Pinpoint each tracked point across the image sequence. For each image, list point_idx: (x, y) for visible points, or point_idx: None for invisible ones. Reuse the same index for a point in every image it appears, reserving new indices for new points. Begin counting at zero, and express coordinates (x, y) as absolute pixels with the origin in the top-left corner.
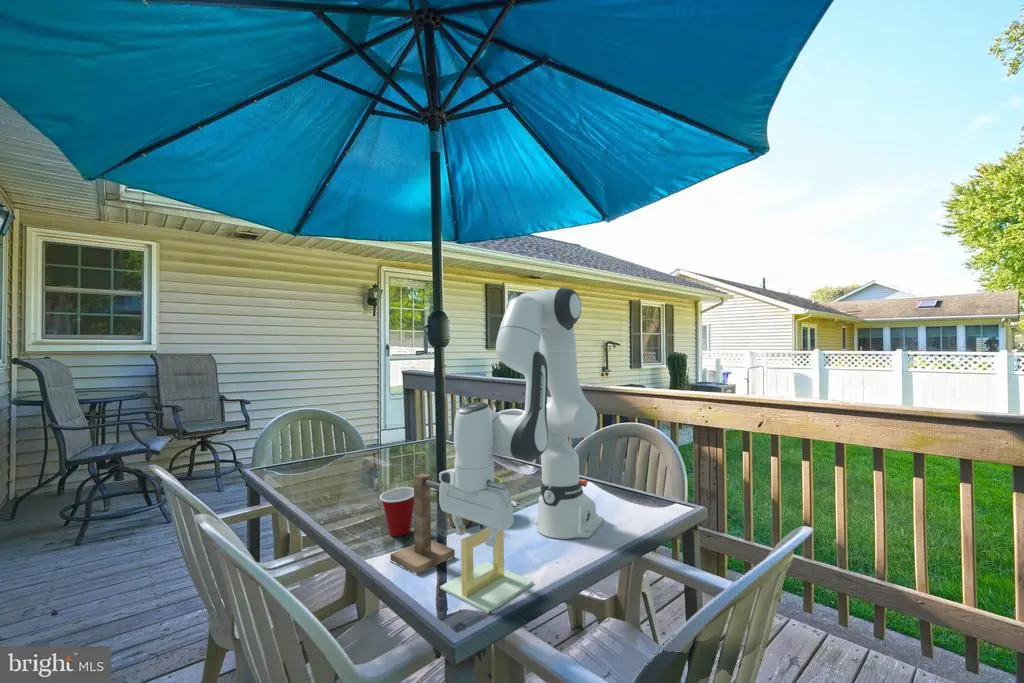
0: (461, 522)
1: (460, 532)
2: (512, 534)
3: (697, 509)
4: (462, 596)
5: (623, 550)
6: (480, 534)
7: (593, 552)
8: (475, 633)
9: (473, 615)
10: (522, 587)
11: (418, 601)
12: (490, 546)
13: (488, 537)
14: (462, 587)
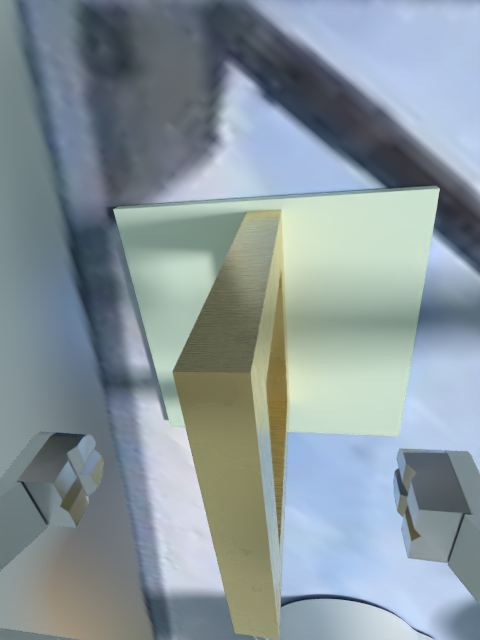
0: (474, 587)
1: (408, 471)
2: (456, 581)
3: None
4: (274, 207)
5: (150, 600)
6: (212, 510)
7: (189, 578)
8: (29, 71)
9: (144, 155)
10: (162, 385)
11: (455, 7)
12: (41, 432)
13: (8, 489)
14: (274, 221)
